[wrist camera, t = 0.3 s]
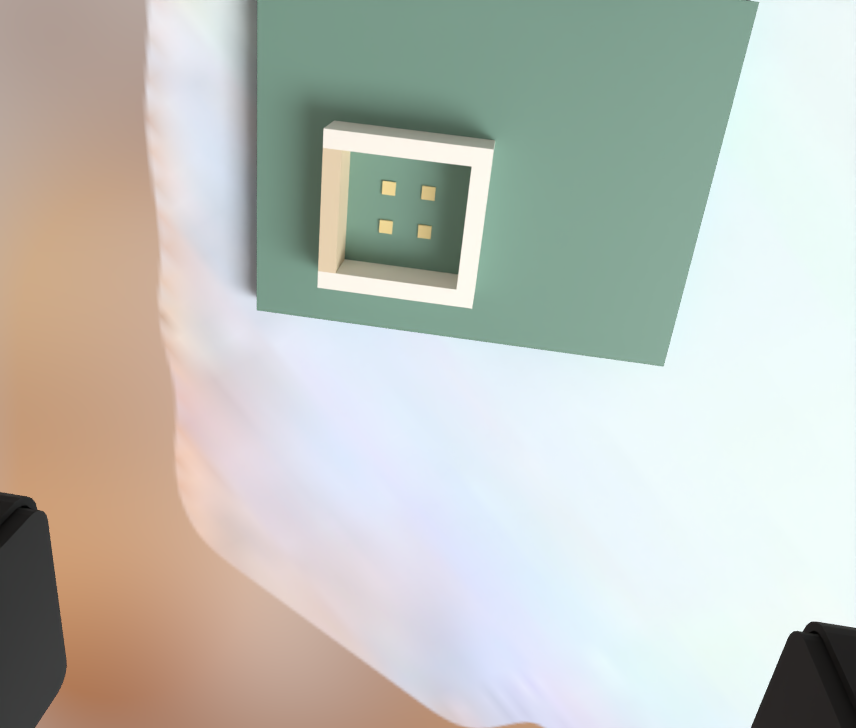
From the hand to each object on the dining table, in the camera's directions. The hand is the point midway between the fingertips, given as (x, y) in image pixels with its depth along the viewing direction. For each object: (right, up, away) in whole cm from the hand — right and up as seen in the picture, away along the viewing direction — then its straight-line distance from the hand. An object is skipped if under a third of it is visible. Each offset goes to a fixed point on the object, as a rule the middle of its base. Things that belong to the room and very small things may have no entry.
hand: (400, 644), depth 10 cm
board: (+3, +12, +26) cm, 29 cm away
